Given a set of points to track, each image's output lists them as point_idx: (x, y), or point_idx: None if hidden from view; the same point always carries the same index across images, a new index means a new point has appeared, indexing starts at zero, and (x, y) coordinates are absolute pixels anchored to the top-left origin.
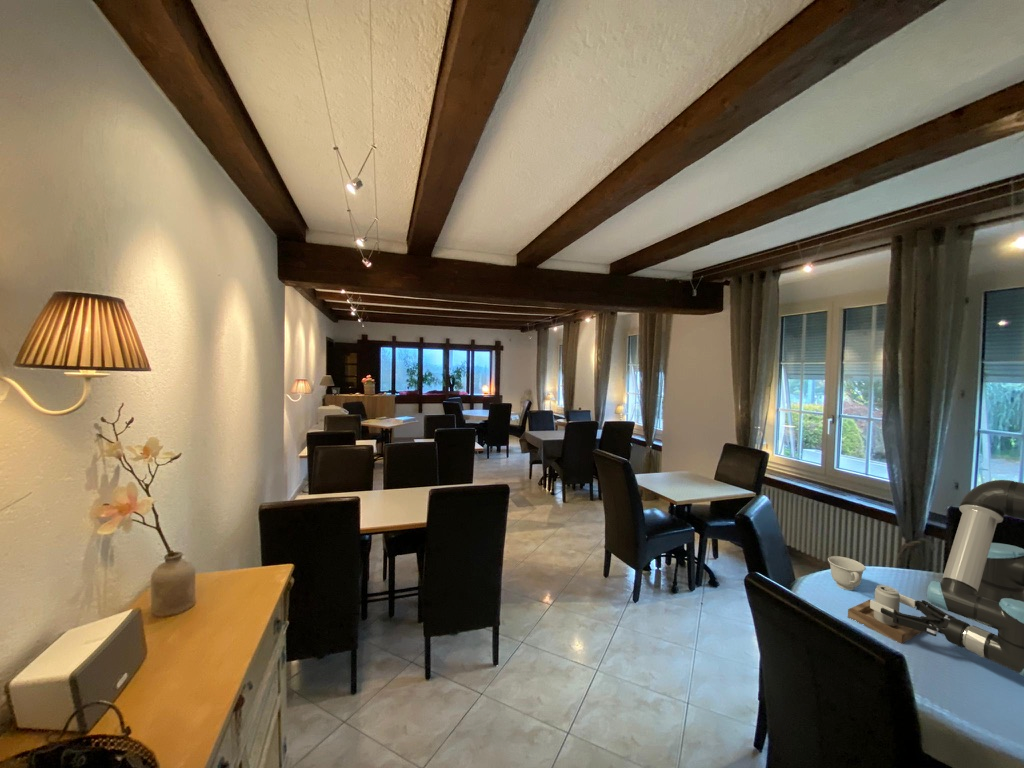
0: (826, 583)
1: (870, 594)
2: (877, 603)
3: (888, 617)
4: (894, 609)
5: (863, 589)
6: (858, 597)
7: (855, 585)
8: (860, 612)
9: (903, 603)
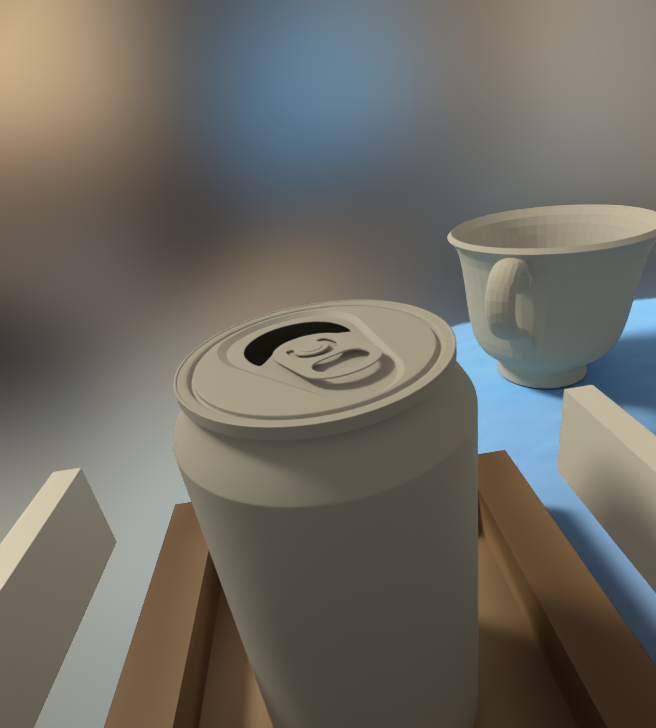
0: (457, 353)
1: (650, 418)
2: (15, 529)
3: (264, 697)
4: (281, 653)
5: (642, 387)
6: (524, 430)
7: (551, 358)
8: (206, 547)
9: (641, 571)
